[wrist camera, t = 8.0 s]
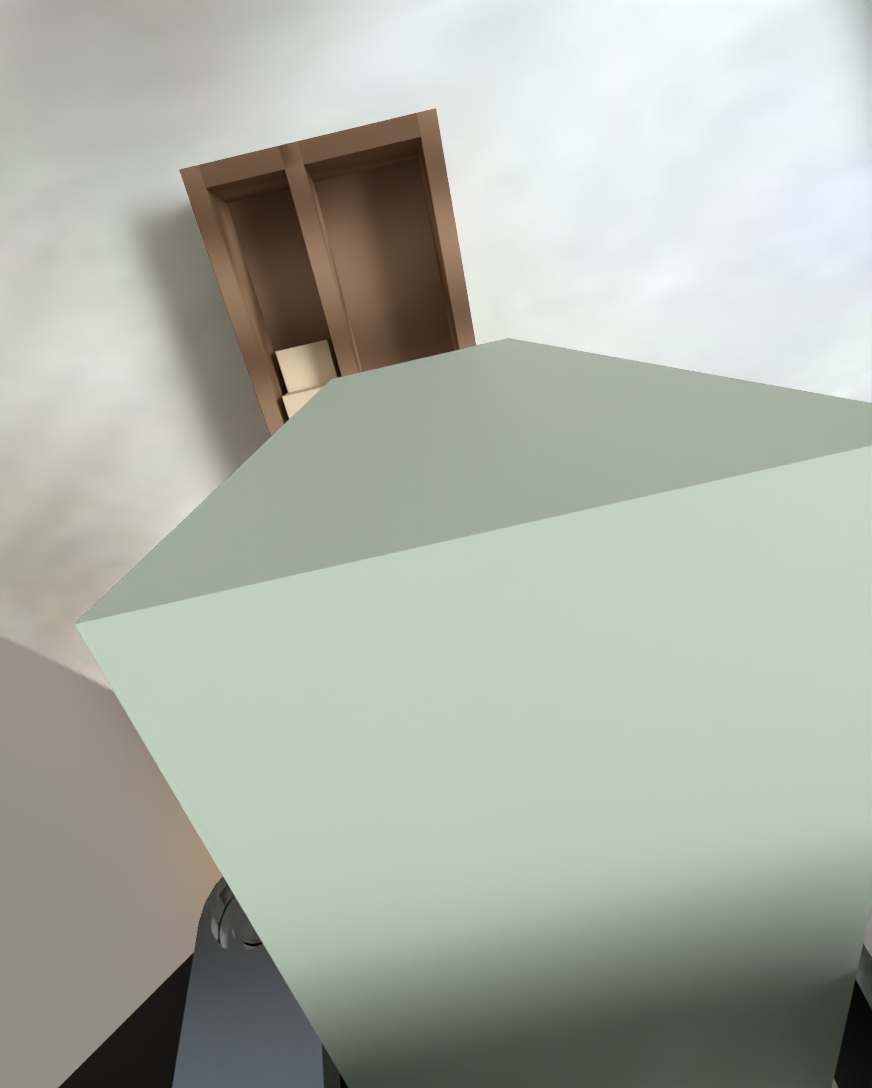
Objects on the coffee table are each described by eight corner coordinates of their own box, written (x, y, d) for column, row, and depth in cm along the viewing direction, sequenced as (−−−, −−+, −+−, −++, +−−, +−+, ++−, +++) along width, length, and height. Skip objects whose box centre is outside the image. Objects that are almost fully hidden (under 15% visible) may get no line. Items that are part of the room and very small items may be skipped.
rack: (212, 193, 25) (179, 169, 21) (429, 141, 25) (435, 108, 21) (364, 658, 36) (360, 698, 32) (515, 624, 36) (529, 661, 32)
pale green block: (331, 379, 11) (74, 623, 2) (508, 338, 11) (975, 422, 2) (435, 745, 16) (489, 1325, 7) (562, 717, 16) (792, 1265, 7)
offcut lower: (281, 350, 27) (275, 351, 26) (330, 338, 27) (326, 339, 25) (331, 509, 31) (328, 518, 29) (374, 499, 31) (373, 508, 29)
